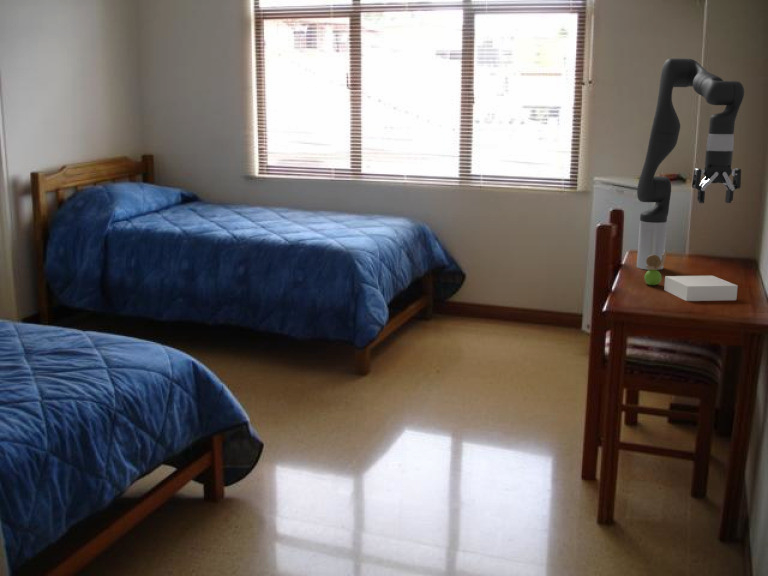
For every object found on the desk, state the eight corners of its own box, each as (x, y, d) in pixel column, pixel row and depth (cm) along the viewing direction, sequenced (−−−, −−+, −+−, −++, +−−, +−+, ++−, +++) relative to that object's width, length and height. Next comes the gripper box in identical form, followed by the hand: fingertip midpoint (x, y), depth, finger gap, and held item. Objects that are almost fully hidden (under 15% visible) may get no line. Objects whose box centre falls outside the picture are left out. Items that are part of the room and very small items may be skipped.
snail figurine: (665, 287, 269) (667, 251, 266) (644, 286, 270) (647, 251, 267) (662, 284, 274) (665, 249, 271) (643, 283, 275) (645, 248, 272)
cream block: (664, 291, 265) (665, 276, 264) (711, 290, 267) (712, 275, 266) (686, 302, 250) (687, 286, 249) (736, 301, 251) (737, 285, 250)
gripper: (735, 148, 250) (730, 201, 253) (691, 148, 248) (686, 201, 252) (748, 149, 242) (743, 204, 246) (702, 149, 241) (697, 204, 245)
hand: (714, 202), depth 249 cm, fingers open, 8 cm apart
